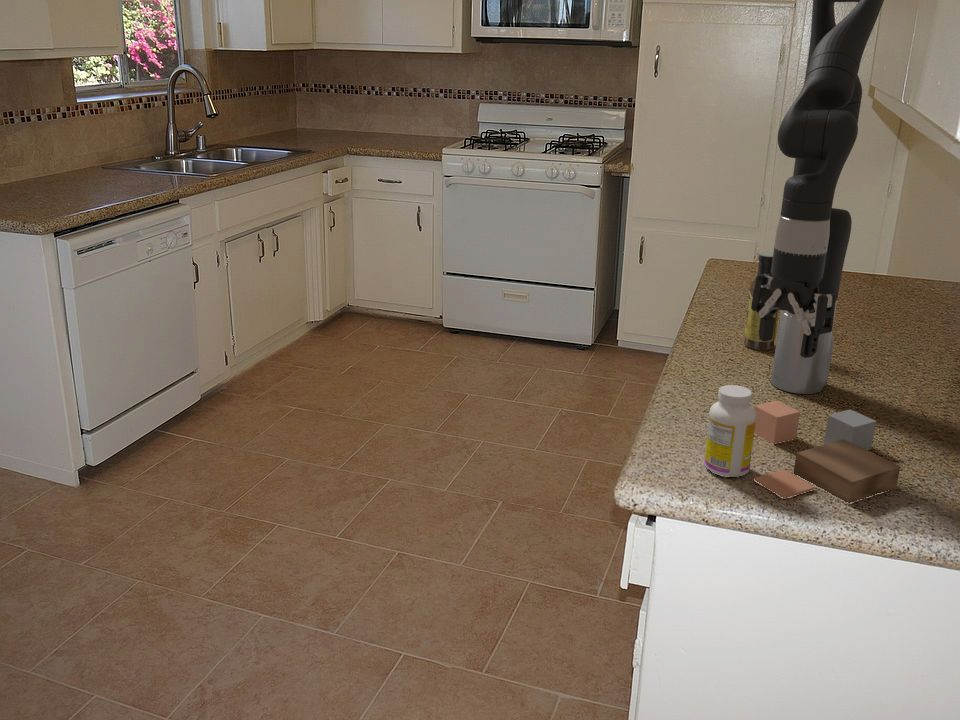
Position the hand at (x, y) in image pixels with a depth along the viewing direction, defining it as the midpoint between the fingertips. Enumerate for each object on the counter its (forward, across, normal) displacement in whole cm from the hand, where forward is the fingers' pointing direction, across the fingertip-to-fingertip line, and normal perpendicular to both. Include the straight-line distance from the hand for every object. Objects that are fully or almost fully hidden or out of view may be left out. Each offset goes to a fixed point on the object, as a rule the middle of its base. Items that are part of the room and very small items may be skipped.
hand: (785, 348), depth 137 cm
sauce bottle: (+15, +33, -29) cm, 47 cm away
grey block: (+15, -8, -8) cm, 19 cm away
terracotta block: (+15, 0, 0) cm, 15 cm away
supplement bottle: (+16, -5, +15) cm, 22 cm away
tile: (+15, -13, +11) cm, 23 cm away
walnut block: (+16, -16, +2) cm, 22 cm away
